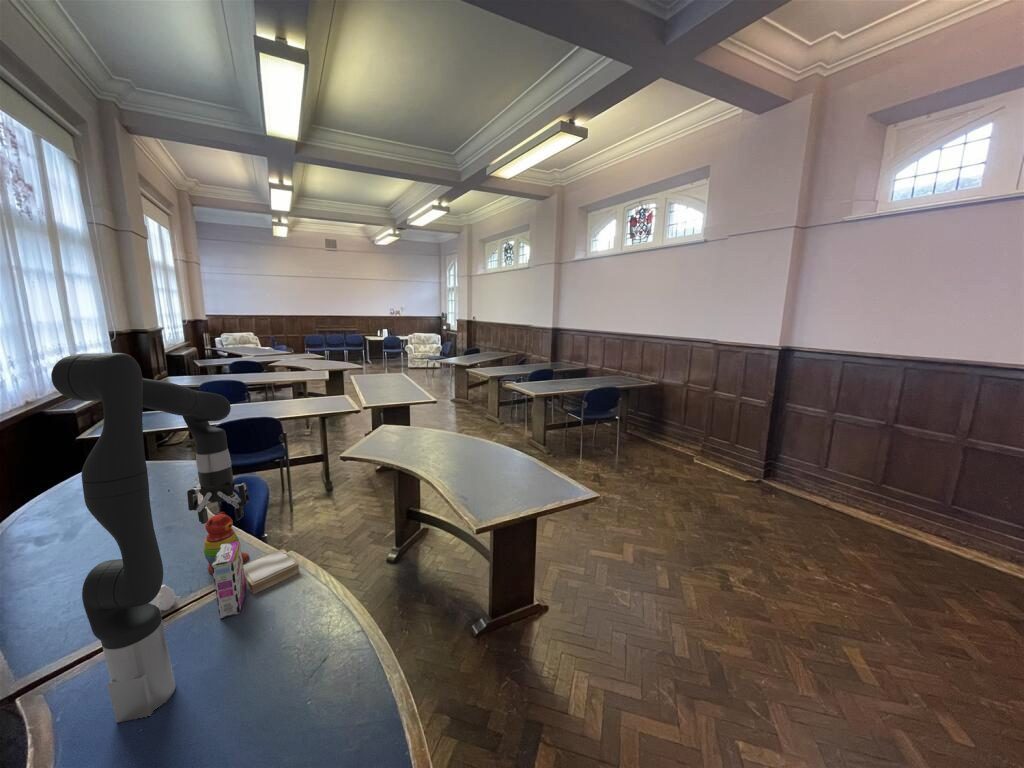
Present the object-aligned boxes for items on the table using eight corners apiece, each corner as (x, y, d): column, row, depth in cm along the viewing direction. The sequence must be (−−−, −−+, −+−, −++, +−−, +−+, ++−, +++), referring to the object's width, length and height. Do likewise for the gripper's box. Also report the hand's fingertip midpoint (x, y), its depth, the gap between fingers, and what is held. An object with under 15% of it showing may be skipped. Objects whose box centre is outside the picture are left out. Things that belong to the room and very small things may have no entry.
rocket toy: (158, 618, 110) (152, 593, 108) (151, 610, 113) (146, 585, 111) (182, 606, 114) (177, 581, 112) (175, 598, 117) (170, 574, 115)
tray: (299, 572, 128) (298, 563, 127) (253, 594, 118) (251, 584, 118) (284, 556, 136) (282, 547, 136) (239, 575, 127) (238, 566, 126)
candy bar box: (241, 614, 111) (232, 561, 108) (219, 620, 109) (210, 566, 106) (248, 588, 121) (240, 539, 118) (228, 593, 119) (219, 543, 116)
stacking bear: (224, 577, 126) (215, 526, 122) (197, 573, 128) (188, 522, 124) (252, 556, 136) (245, 508, 133) (227, 553, 138) (219, 506, 135)
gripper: (176, 473, 105) (185, 530, 108) (237, 468, 108) (244, 524, 111) (192, 463, 113) (200, 517, 115) (249, 459, 115) (255, 511, 118)
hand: (222, 520), depth 113 cm, fingers open, 8 cm apart
